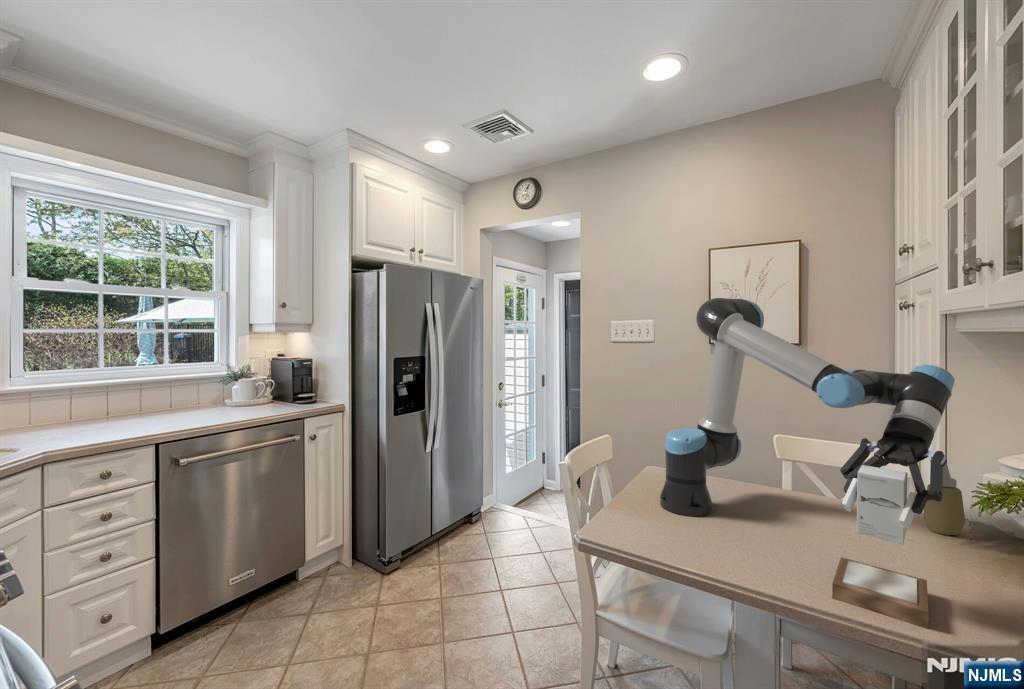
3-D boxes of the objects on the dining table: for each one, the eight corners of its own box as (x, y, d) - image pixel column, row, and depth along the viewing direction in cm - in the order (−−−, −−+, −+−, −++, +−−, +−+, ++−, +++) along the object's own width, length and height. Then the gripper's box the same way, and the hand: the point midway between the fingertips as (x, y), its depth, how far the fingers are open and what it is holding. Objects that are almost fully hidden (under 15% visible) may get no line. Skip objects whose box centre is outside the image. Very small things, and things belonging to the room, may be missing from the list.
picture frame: (832, 597, 88) (832, 581, 88) (840, 570, 99) (840, 555, 98) (928, 628, 79) (928, 610, 79) (926, 594, 89) (926, 578, 89)
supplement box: (855, 534, 88) (855, 471, 88) (861, 522, 93) (861, 463, 93) (904, 546, 83) (904, 479, 83) (907, 533, 88) (907, 471, 88)
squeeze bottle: (963, 531, 118) (964, 464, 117) (967, 541, 112) (967, 471, 111) (922, 522, 123) (923, 458, 123) (923, 532, 117) (924, 465, 117)
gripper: (988, 448, 86) (953, 549, 78) (859, 429, 105) (821, 508, 98) (977, 424, 83) (940, 525, 76) (847, 408, 102) (807, 488, 95)
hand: (873, 515), depth 87 cm, fingers closed on supplement box, 9 cm apart
